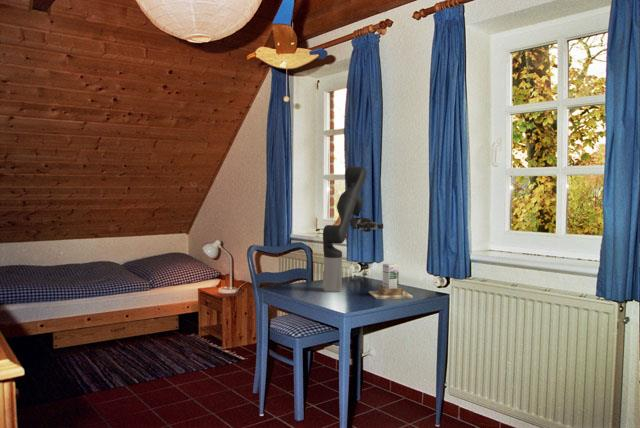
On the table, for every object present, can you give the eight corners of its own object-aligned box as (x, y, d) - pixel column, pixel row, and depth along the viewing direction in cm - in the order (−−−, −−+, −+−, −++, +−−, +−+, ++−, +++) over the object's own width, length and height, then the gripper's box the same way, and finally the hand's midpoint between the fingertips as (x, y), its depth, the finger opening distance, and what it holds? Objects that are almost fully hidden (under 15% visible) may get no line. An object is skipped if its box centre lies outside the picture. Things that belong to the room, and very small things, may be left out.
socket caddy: (376, 298, 257) (376, 290, 257) (368, 293, 271) (369, 284, 270) (412, 298, 260) (412, 289, 259) (403, 292, 273) (403, 284, 273)
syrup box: (388, 295, 261) (389, 265, 260) (382, 292, 267) (382, 263, 266) (398, 294, 264) (399, 264, 263) (391, 291, 269) (392, 262, 268)
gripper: (352, 217, 298) (359, 219, 282) (378, 217, 300) (386, 219, 284) (352, 231, 299) (359, 234, 283) (377, 231, 301) (385, 234, 285)
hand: (372, 226), depth 284 cm, fingers open, 8 cm apart
